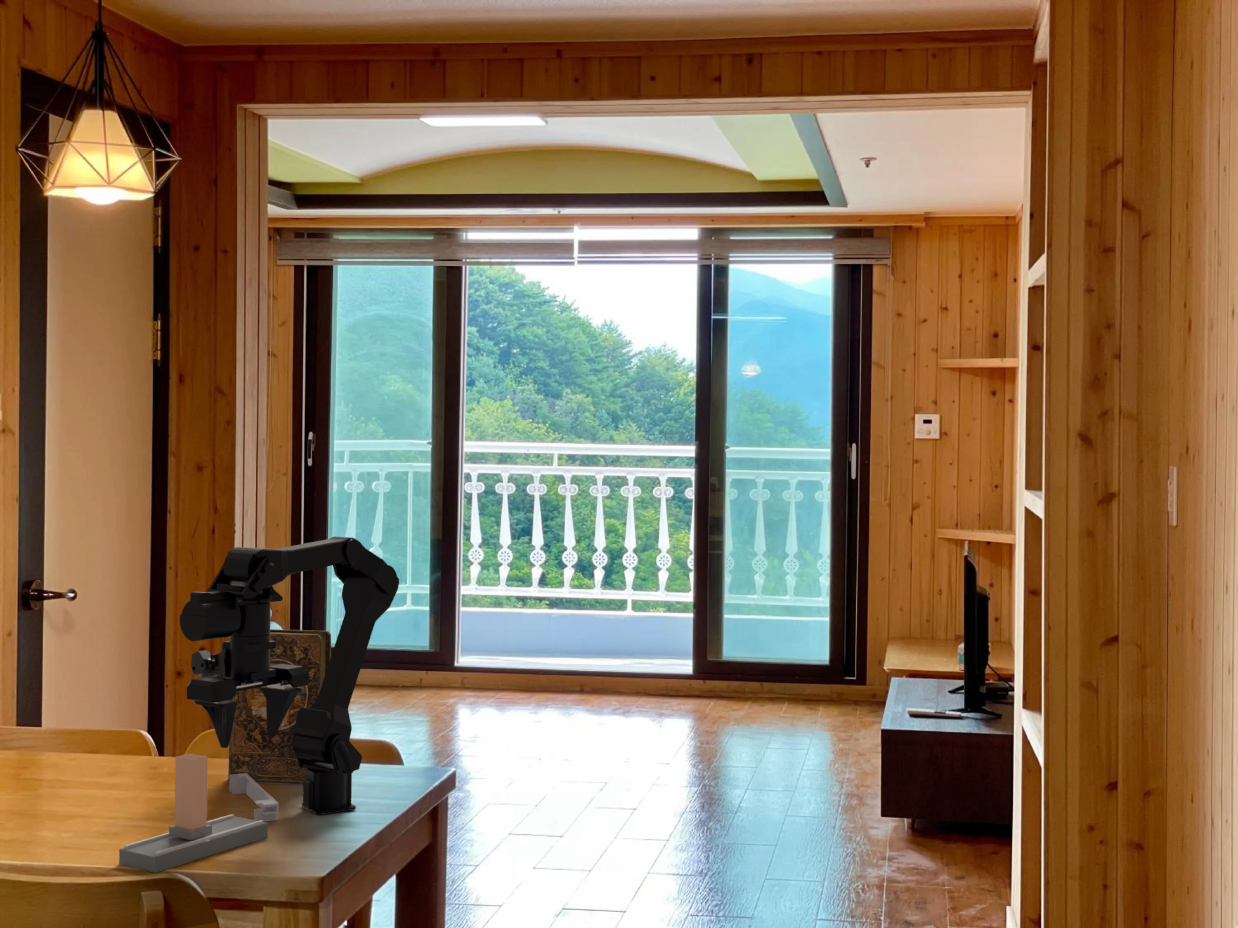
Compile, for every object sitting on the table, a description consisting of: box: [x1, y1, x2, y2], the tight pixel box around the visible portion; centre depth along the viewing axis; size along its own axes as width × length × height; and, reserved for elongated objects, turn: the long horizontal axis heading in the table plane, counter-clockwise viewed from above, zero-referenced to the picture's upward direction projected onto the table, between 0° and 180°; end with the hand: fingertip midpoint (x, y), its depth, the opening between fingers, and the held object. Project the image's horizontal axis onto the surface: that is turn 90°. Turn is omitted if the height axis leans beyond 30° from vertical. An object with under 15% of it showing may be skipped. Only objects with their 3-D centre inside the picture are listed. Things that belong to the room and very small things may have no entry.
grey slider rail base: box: [118, 813, 269, 874], centre depth 186 cm, size 20×7×2 cm, turn 150°
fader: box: [168, 753, 212, 840], centre depth 185 cm, size 4×4×11 cm
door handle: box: [229, 773, 280, 822], centre depth 210 cm, size 21×3×3 cm, turn 28°
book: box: [227, 628, 332, 786], centre depth 227 cm, size 16×6×25 cm, turn 84°
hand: (248, 741), depth 195 cm, fingers open, 9 cm apart
